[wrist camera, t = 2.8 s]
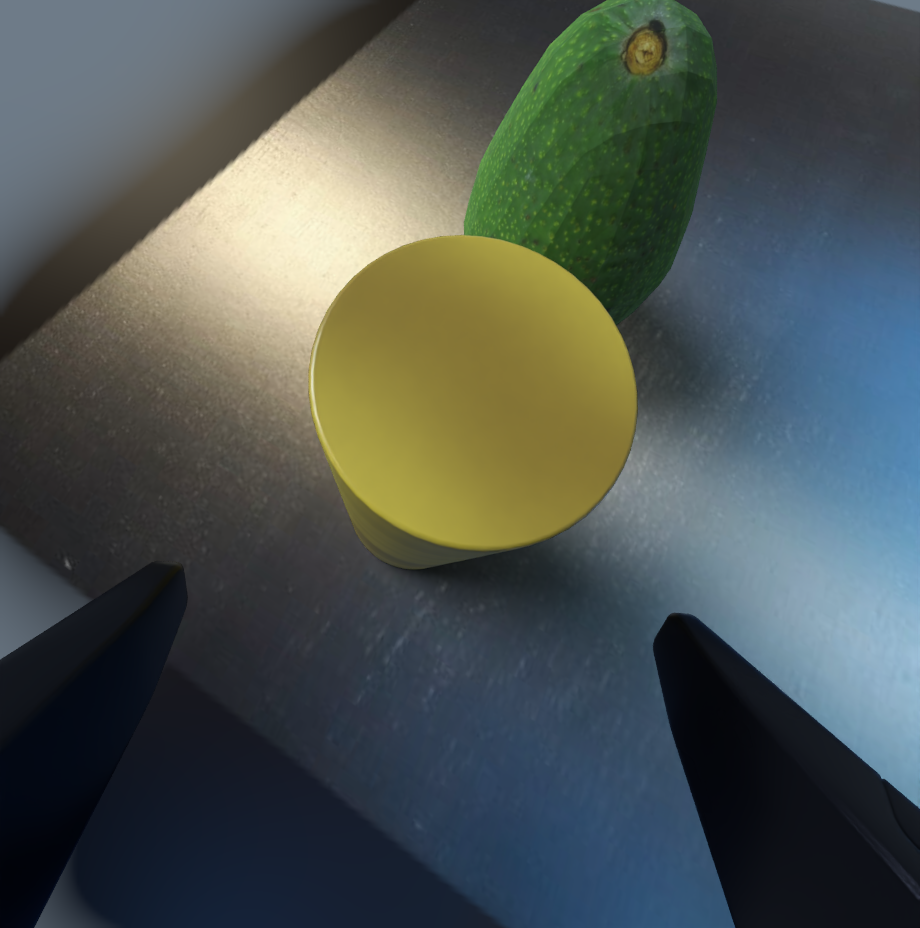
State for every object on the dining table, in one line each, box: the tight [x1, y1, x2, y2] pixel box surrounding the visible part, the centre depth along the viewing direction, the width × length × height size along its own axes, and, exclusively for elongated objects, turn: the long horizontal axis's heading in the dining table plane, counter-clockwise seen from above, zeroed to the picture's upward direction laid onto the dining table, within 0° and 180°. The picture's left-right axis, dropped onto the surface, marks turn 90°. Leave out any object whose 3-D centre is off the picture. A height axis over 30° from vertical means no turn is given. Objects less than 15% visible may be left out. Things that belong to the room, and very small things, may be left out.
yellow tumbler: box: [309, 235, 638, 569], centre depth 14 cm, size 5×5×13 cm
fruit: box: [464, 0, 717, 325], centre depth 17 cm, size 8×8×12 cm
